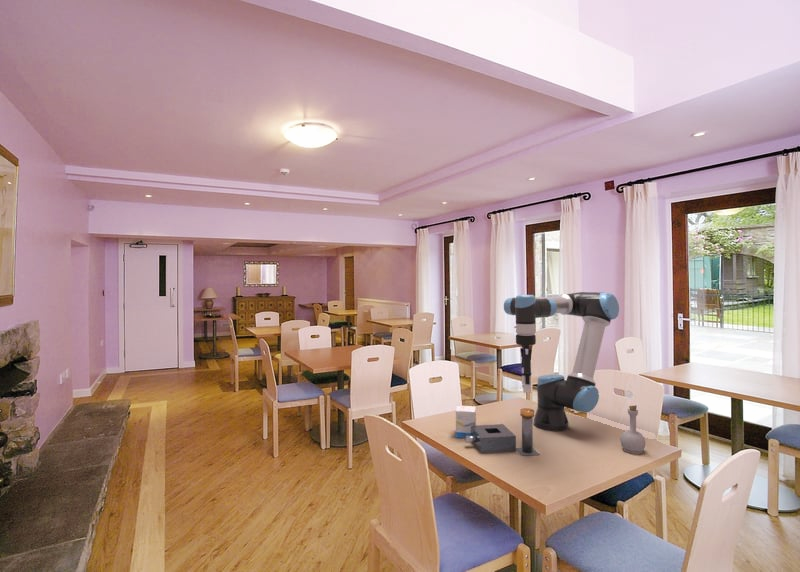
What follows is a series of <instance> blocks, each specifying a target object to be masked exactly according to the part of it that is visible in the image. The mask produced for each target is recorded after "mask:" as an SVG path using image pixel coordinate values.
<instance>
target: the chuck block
mask: <svg viewBox="0 0 800 572" xmlns="http://www.w3.org/2000/svg"><path fill="white" fill-rule="evenodd" d="M465 442H466V443H468V444H469V443H473V444H474V446H475V447H476V448H477V449H478V451H479V452H480V454H491V453H492V454H493V453H507V452H508V453H509V452H517V450H516V448H517V435H516V434H515V433H513V432H512V431H511V430H510V429H509V428H508V427H507V426H506V425H505V424H503V423H500V424H499V423H498V424H483V425H482V424H480V425H479V424H478V425H477V424H476V426H471V436H466V438H465Z"/></svg>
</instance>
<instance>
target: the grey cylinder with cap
mask: <svg viewBox="0 0 800 572" xmlns="http://www.w3.org/2000/svg"><path fill="white" fill-rule="evenodd" d="M519 415H520V417H521V448H522V451H523V452H525V453H532V452H533V448H534V446H533V441H534V439H533V437H534V436H533V433H534V432H533V431H534V430H533V428H534V417H535V410H534V409H532V408H527V407H524V408H523V407H522V408H520V412H519Z"/></svg>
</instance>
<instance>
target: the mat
mask: <svg viewBox="0 0 800 572" xmlns="http://www.w3.org/2000/svg"><path fill="white" fill-rule="evenodd" d="M516 452H517V453H518V454H520V455H521V457H530V456H541V454H540V453H539V452H538V451H537V450H536V449H535V448H534V447H533V452H532V453H525V452H523V451H522V447H516Z"/></svg>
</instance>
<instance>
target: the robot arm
mask: <svg viewBox="0 0 800 572" xmlns="http://www.w3.org/2000/svg"><path fill="white" fill-rule="evenodd" d="M503 310H504V312H505V314H507V315H511V316H515V325H514V326H513V328H514V329H515V333H516V334H515V343H516V345H519V346H521V348H520V357H521V363H520V364H521V384H522V385H523V393H526V394H527V393H528V394H532V365H531V364H532V362H531V360H532V348H530V346H535V345H536V343H537V342H536V341H537V340H536V339H537V337H536V331H537V330H536V329H537V327H536V325H537V324H536V319H539V318H550V317H553V316H554V315H555V314H560V315H564V316H565V315H570V316H576V317H581V319H582V321H583V322H584V325H583V329H582V333H581V335H580V336H581V337H580V339H579V343H578V344H579V345H578V348H577V353H576V357H575V359H574V360H575V361H574V365H573V369H572V372H571V373H569V374H568V375H567V377H566V380H565V375H562V374H543V375H540V376H538V378H537V385H536V386H537V387H536V392H537V393H536V394H537V408H536V412H535V413H534V417H533V426H535V427H537V428H539V429H542V430H545V431H556V432H559V431H565V430H567V429H569V420H568V417H567V414H566V411H565V408H566V409H570V410H574V411H576V412H582V413H590V412H592V410H594V409H595V408H596V406H597V405H598V403H599V400H600V399H599V398H600V395H599V389H598V388H597V386H596V382H595V380H594V376H595V372H596V367H597V364H598V359H599V354H600V351H601V347H602V342H603V340H604V339H603V338H604V334H605V329H606V327H608V326H610V325H611V321H612V320H616V318H617V317H618V316H619V314H620V313H619V312H620V305H619V301H618V299H617V297H616V296H615V295H614V294H613V293H610V292H603V291H602V292H592V291H590V292H589V291H588V292H585V291H583V292H582V291H580V292H579V291H578V292H573V293H566V294H565V293H562V294H560V295H559V296H544V297H543V296H540V297H539V296H538V297H537V296H535V295H534V294H518V295H516V296H515V297H508V298H506V299H505V300H504V302H503Z"/></svg>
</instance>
